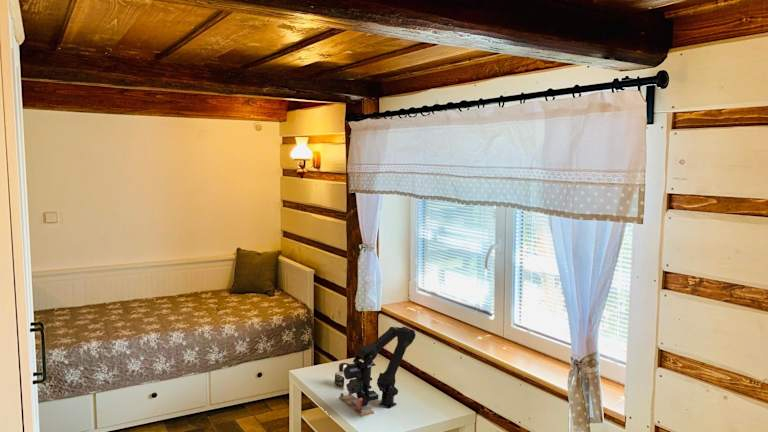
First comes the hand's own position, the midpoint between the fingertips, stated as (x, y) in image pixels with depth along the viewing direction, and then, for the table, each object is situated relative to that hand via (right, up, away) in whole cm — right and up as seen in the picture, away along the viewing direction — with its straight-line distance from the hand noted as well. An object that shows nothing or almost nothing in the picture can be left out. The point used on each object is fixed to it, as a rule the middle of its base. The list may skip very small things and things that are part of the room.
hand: (361, 406), depth 265 cm
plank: (-3, -1, +4) cm, 6 cm away
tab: (-2, 0, +3) cm, 3 cm away
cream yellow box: (-11, +1, +28) cm, 30 cm away
